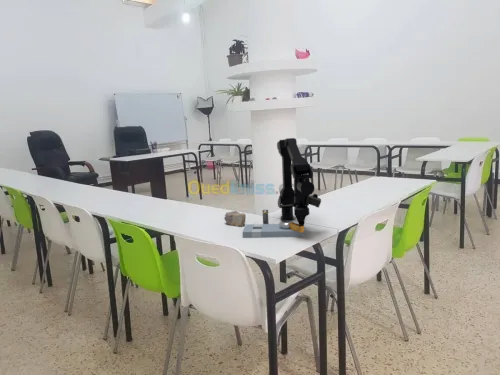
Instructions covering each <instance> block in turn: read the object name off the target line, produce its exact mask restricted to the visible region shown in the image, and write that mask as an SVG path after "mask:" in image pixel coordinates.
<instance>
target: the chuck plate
mask: <svg viewBox="0 0 500 375" xmlns="http://www.w3.org/2000/svg"><path fill="white" fill-rule="evenodd" d="M297 224H299V223H298V222H297ZM243 227H244V228H243V230H242V238H249V239H250V238H297V237H298V238H300V237H301V238H302V237H304V232H302V233H300V232H297V231H295V230H292V229H283V228H280V227H279V223H269V224H263V223H252V224H251V223H249V224H247V223H246V224H244V226H243Z"/></svg>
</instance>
